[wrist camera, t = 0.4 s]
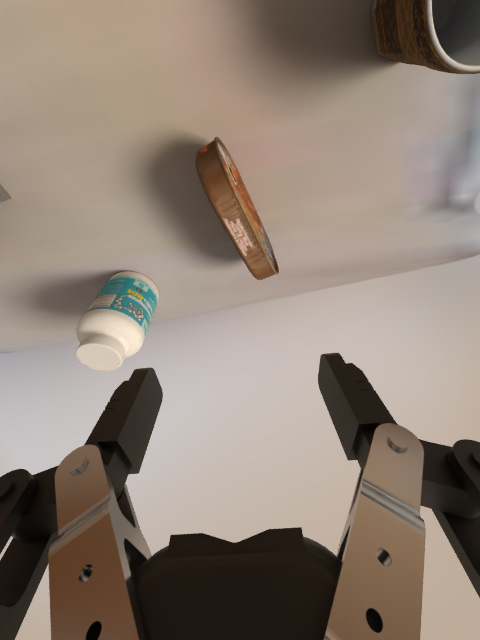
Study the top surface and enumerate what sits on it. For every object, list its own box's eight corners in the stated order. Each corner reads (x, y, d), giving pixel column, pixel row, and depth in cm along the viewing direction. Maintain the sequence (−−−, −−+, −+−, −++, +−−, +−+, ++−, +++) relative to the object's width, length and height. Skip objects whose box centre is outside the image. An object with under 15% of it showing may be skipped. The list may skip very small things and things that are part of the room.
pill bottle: (168, 303, 37) (147, 372, 27) (127, 313, 38) (92, 383, 28) (144, 262, 33) (108, 328, 22) (98, 275, 34) (43, 344, 23)
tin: (275, 252, 33) (287, 285, 26) (255, 262, 34) (262, 296, 27) (220, 131, 24) (219, 137, 17) (195, 149, 24) (184, 161, 18)
